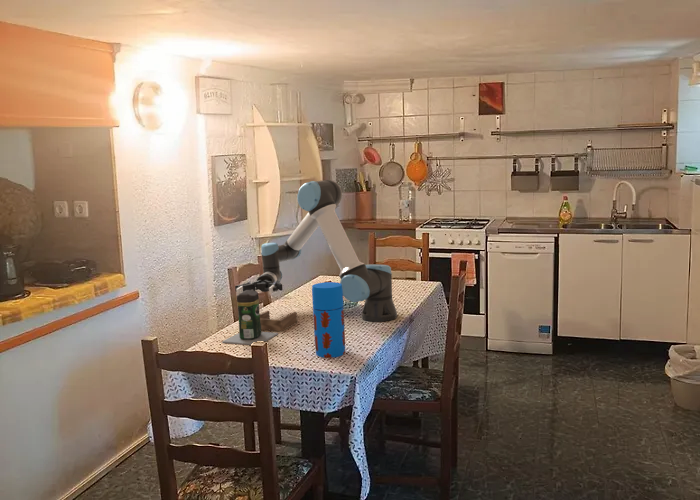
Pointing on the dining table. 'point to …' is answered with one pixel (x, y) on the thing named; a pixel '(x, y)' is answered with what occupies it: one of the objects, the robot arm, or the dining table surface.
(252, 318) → the coffee jar
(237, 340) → the slate mat
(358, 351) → the dining table surface
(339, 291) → the thermos
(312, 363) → the dining table surface
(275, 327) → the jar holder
